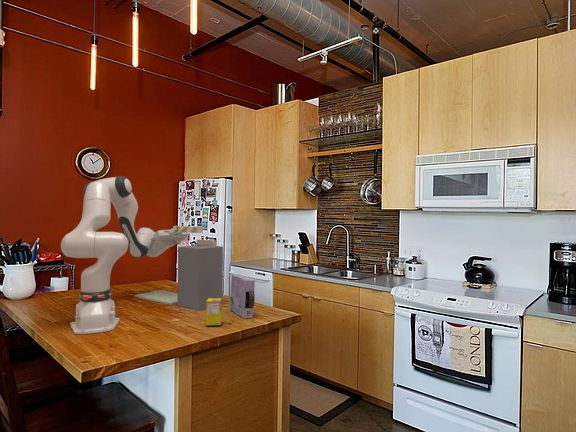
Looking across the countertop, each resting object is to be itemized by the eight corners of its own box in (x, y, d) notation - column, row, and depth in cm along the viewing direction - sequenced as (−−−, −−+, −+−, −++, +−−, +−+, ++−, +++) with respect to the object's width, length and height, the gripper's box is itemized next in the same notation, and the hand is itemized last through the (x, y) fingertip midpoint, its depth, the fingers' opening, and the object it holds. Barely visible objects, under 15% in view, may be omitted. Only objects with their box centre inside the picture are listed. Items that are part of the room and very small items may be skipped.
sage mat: (134, 296, 218) (134, 294, 218) (161, 291, 233) (161, 289, 233) (170, 305, 200) (170, 303, 200) (197, 298, 214) (197, 297, 214)
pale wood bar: (196, 245, 207) (196, 239, 207) (200, 245, 209) (200, 239, 209) (212, 246, 200) (212, 240, 200) (216, 246, 202) (216, 240, 202)
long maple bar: (173, 231, 210) (173, 226, 210) (177, 231, 213) (177, 225, 213) (198, 233, 198) (198, 227, 198) (202, 232, 201) (202, 227, 201)
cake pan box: (255, 318, 176) (255, 279, 176) (245, 320, 173) (245, 280, 173) (239, 309, 192) (239, 273, 192) (229, 310, 190) (229, 274, 190)
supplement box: (222, 322, 168) (222, 297, 168) (220, 327, 162) (220, 300, 162) (208, 322, 168) (208, 297, 168) (206, 327, 162) (206, 300, 162)
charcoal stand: (177, 305, 198) (177, 246, 198) (201, 300, 211) (201, 244, 211) (198, 310, 189) (199, 248, 189) (222, 304, 202) (222, 246, 202)
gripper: (147, 235, 209) (161, 223, 202) (178, 234, 225) (192, 222, 218) (151, 246, 207) (165, 234, 200) (182, 243, 224) (196, 232, 216)
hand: (179, 228), depth 209 cm, fingers closed on long maple bar, 3 cm apart
